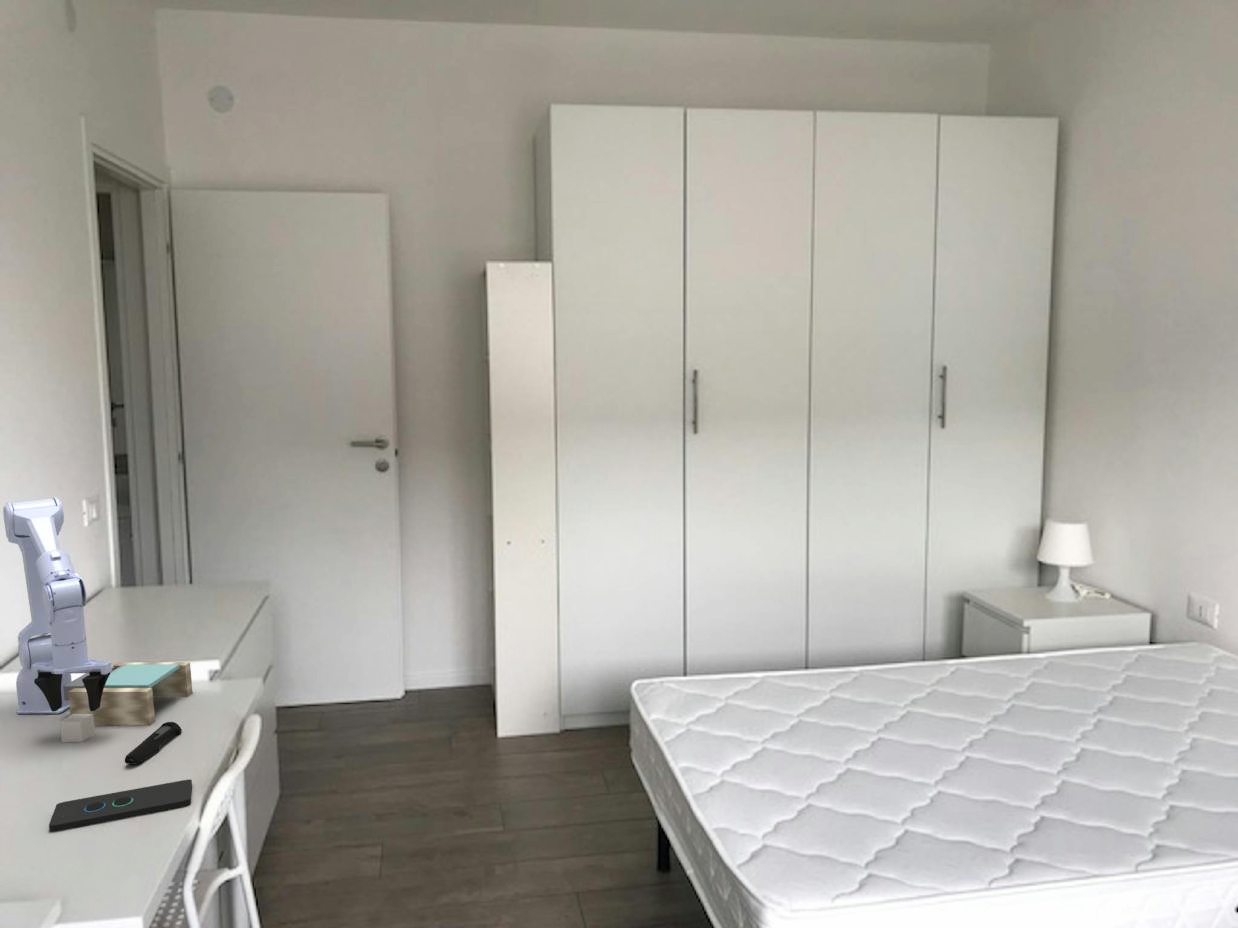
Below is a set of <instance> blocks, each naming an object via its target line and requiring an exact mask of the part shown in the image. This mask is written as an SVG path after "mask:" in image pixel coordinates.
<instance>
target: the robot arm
mask: <svg viewBox="0 0 1238 928" xmlns="http://www.w3.org/2000/svg"><path fill="white" fill-rule="evenodd" d="M2 509H3V511H2V512H3V513H2V515H3V521H4V522H3V523H4V530H5V537H6V539H7V541H8V542H9V543H11V544H16V545H18V547H19V550H20V553H21V555H22V563H23V571H24V576H25V584H26V592H27V597H28V599H27V600H28V605H29V612H30V619H31V621H30V622H29V623H28V624H27V625H26V626H25V627H24V628H22V630H21V631H19V633H18V635H17V640H18V643H17V652H18V657H19V662H20V665H21V667H22V668H21V670H20V671H19V672H18V674H17V676H16V682H15V683H16V684H15V685H16V695H17V696H16V697H17V705H18V706H17V707H18V710H16V714H61V713H63V712H65V711H66V710H67V709H70V705H69V700H65V699H64V689H63V686H65V685H66V684H68V683H70V682H72V681H73V680H72V674H86V673H89V675H88V676H86V677H85V678H83V679H82V681H83V683H84V685H85V688H86V691H87V695H88V702H89V708H90V711H95V710H97V709H98V708H100V703H101V697H102V693H103V689H104V686H105V684H106V681H107V679H108V677H109V675H110V672H111V671H112V667H113V665H112V661H107V660H105V661H104V660H100V659H99V660H98V659H91V658H89V654H88V643H87V641H88V640H87V632H86V631H87V630H86V623H85V621H86V620H85V611H84V607H85V606H86V605H87V589H86V585H85V582H84V579H83V577H82V576H80V574H79V573H76V572H75V571H76V570H75V568H74V566H73V563H72V560H71V557H70V555H69V554H68V553H67V552H66V551H63V550H61V547H60V544H59V538H58V536H59V535H60V532H61V530H62V527H63V524H64V522H65V513H64V506H63V503H62V501H61V500H60V499H59V498H58V497H52V498H47V499H38V500H28V501H19V502H18V501H17V502H6V503H5V504H4V505H3V508H2ZM45 634H47V635H45ZM39 635H40V636H39ZM41 635H42V636H41ZM35 636H36V637H35Z"/></svg>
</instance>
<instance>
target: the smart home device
mask: <svg viewBox="0 0 1238 928" xmlns="http://www.w3.org/2000/svg"><path fill="white" fill-rule="evenodd" d="M192 792H193V780H192V779H183V780H178V781H173V782H171V781H170V782H167V783H161V784H160V783H159V784H154V785H149V786H144V787H139V788H133V789H128V790H121V791H116V792H112V793H111V792H110V793H107V794H106V793H105V794H100V795H94V796H91V797H90V796H88V797H84V798H78V799H73V800H67V801H62V802H58V803H57V804H56V805H55V808H54V810H53V813H52V816H51V818H50V821H49V824H48V829H49V832H50V833H55V832H56V833H57V832H60V831H66V830H72V829H77V828H83V827H87V826H93V825H98V824H103V823H108V821H109V822H114V821H119V820H124V819H129V818H133V817H140V816H143V815H149V814H155V813H160V812H165V811H171V810H175V809H181V808H185V807H188V806H191V804H192Z"/></svg>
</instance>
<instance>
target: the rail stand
mask: <svg viewBox="0 0 1238 928" xmlns="http://www.w3.org/2000/svg"><path fill="white" fill-rule="evenodd" d="M124 664H126V665H153V664H179V665H180V668H179V669H177V670H176V671H175V672H173V673H172V674H170V675H169V676H167V677H166V678H164V679H163V680H161V681H160V682H158V683H157V684H155V685H154V686H152V687H151V688H104V689H103V693H102V697H101V703H100V708H98V709H97V710H95V711H90V708H89V702H88V695H87V691H86V688H74V689H72V690H70V691H69V692H68V695H69V705H70V708H69V713H70V715H69V716H71V715H72V714H93V718H94V726H151V725H152V724H153V723H155V722H156V718H155V707H154V698H156V697H157V698H158V697H159V698H161V697H163V698H165V697H168V698H169V697H171V698H172V697H175V698H176V697H177V698H178V697H180V698H181V697H184V698H185V697H187V698H188V697H189V696H191V695H192V694H193V682H192V669H191V662H190V661H185V662H184V661H183V662H182V661H178V662H177V661H169V662H168V661H164V662H163V661H157V662H155V661H153V662H151V661H150V662H148V661H147V662H145V661H143V662H142V661H139V662H134V661H133V662H128V661H127V662H125V661H124V662H123V661H121V662H120V661H118V662H117V663H115V664H113V665H112V667H114V668H115V669H117V668H119V667H120V666H122V665H124Z"/></svg>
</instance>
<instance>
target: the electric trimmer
mask: <svg viewBox="0 0 1238 928" xmlns="http://www.w3.org/2000/svg"><path fill="white" fill-rule="evenodd" d="M181 734H182V728H181V726H180V725H179V724H178V723H177V722H174V721H167V722H164V723H162V724H161V725H160V727H158V728H157V729H156V730H155V731H154V732H152V733H151V734H150V735H149V736H148V737H146V738H145V739H144V740H143V741H142V742H141V743H140V744H138V746H135V748H134V749H132V750H131V751H130V752H128V754H126V755H125V757H124V763H125V764H129V765H133V764H136V765H137V764H140V763H142V762H143V761H144V760H147V759H148V758H149V757H151V756H153V755H155V754H156V753H157V752H159V751H160V748H161V746H162V745H164V744H165V743H167V742H168V741H169V740H170V739H172V738H173V737H174V736H176V735H181Z"/></svg>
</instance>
